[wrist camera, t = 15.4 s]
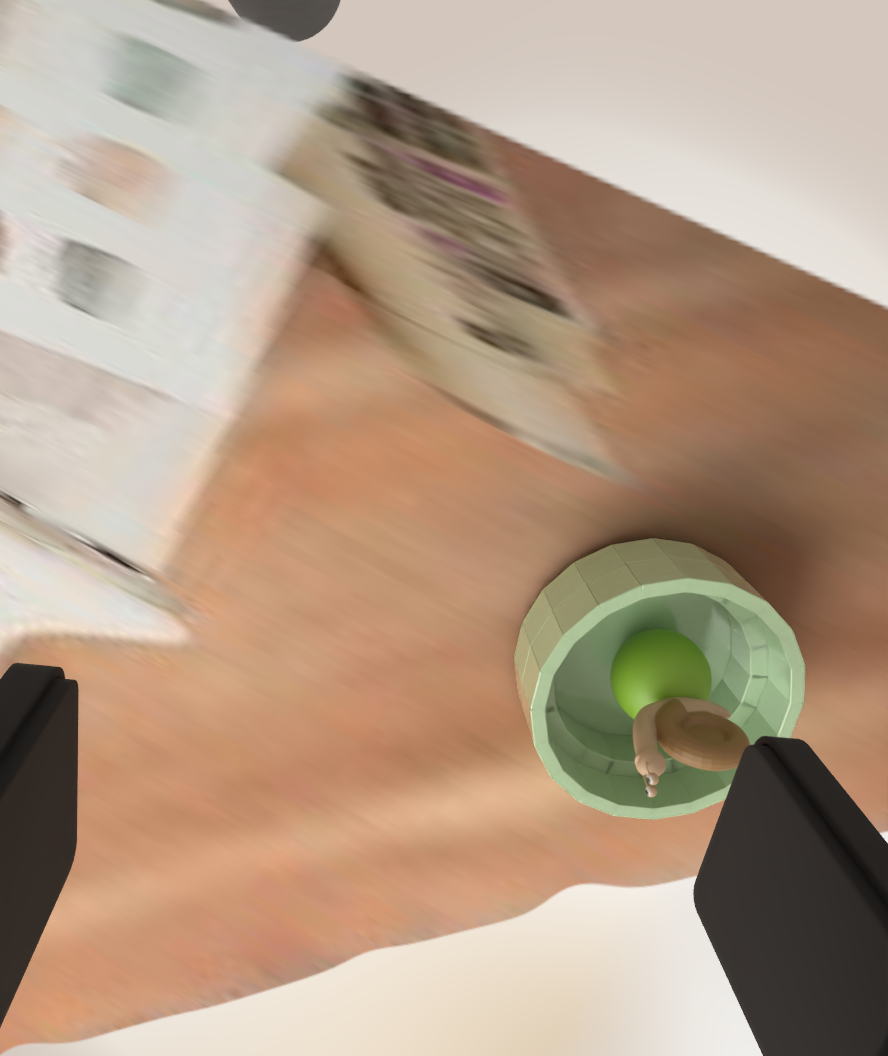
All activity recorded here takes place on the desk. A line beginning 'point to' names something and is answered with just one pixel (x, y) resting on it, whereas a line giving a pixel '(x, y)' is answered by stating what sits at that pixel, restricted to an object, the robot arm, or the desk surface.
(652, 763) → the snail figurine
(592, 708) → the green round bowl
